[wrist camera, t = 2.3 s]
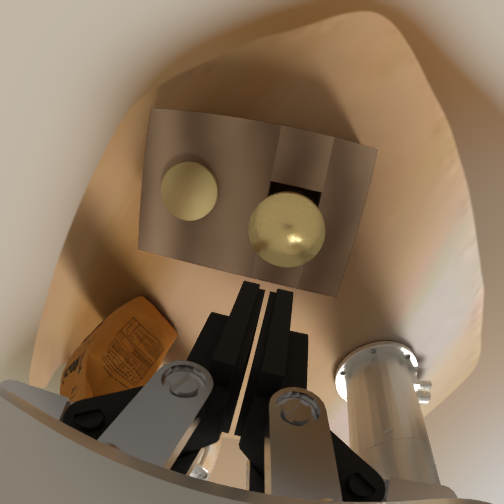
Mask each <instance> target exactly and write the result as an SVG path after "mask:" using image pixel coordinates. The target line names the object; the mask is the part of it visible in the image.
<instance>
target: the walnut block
mask: <svg viewBox="0 0 504 504" xmlns="http://www.w3.org/2000/svg"><path fill="white" fill-rule="evenodd" d="M377 152H378V149H376V148H373V147H369V146H366V145H362V144H359V143H355V142H351V141H348V140H344V139H340V138H336V137H332V136H328V135H324V134H320V133H316V132H311V131H307V130H302V129H298V128H293V127H288V126H283V125H278V124H273V123H267V122H262V121H256V120H250V119H244V118H238V117H231V116H224V115H217V114H209V113H200V112H191V111H182V110H171V109H158V108H151V114H150V120H149V127H148V135H147V142H146V151H145V159H144V169H143V179H142V190H141V203H140V219H139V239H138V250H142V251H146V252H150V253H154V254H158V255H161V256H165V257H169V258H173V259H177V260H181V261H185V262H189V263H193V264H197V265H201V266H205V267H209V268H213V269H217V270H221V271H225V272H229V273H233V274H237V275H241V276H246V277H250V278H254V279H258V280H262V281H266V282H271V283H275V284H279V285H284V286H288V287H292V288H296V289H301V290H305V291H310V292H314V293H318V294H323V295H327V296H332V297H336V296H337V293H338V290H339V287H340V284H341V281H342V278H343V275H344V272H345V269H346V266H347V262H348V259H349V256H350V253H351V250H352V246H353V243H354V240H355V236H356V233H357V230H358V226H359V223H360V219H361V216H362V212H363V208H364V205H365V201H366V197H367V193H368V189H369V186H370V182H371V178H372V174H373V169H374V165H375V161H376V157H377ZM289 188H294V189H298V190H300V191H302V192H303V193H305V194H306V196H307V197H308V198H309V199H310V200H311V201H313V202H314V203H315V204H316V206H317V207H318V208H319V210H320V212H321V214H322V216H323V220H324V224H325V238H324V242H323V245H322V247H321V249H320V250H319V252H318V253H317V254H316V256H315V257H314V258H312V259H311V260H310V261H308V262H307V263H305V264H302V265H300V266H296V267H280V266H276V265H273V264H271V263H269V262H267V261H265V260H264V259H263V258H261V257H260V256H259V255H258V254H257V252H256V251H255V250H254V248H253V246H252V244H251V242H250V238H249V232H248V227H249V221H250V218H251V215H252V213H253V212H254V210H255V208H256V207H257V206H258V204H259V203H260V202H261V201H262V200H264V199H265V198H266V197H268V196H270V195H272V194H275V193H278V192H281V191H283V190H285V189H289Z"/></svg>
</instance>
